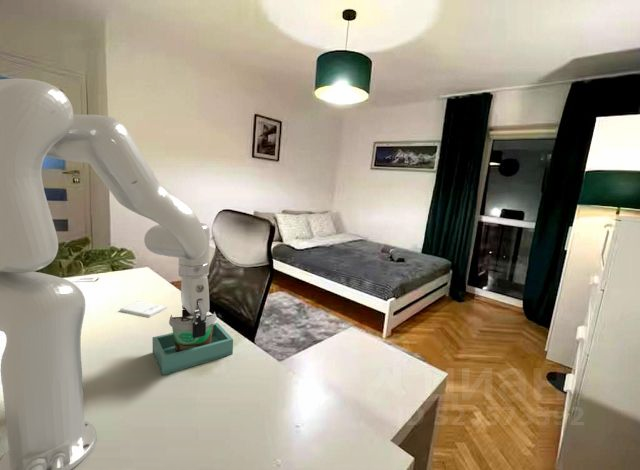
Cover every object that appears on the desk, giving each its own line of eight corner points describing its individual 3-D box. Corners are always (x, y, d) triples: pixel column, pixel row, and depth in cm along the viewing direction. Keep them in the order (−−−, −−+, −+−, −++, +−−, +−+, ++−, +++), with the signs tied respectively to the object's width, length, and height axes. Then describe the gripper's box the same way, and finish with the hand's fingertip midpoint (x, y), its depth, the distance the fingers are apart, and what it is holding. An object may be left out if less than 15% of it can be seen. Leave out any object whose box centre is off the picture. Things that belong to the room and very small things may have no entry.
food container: (165, 360, 78) (165, 324, 77) (169, 347, 84) (169, 314, 83) (215, 355, 82) (216, 321, 81) (215, 343, 88) (216, 311, 86)
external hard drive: (139, 304, 114) (167, 309, 111) (120, 312, 106) (149, 318, 103) (139, 300, 114) (167, 305, 111) (120, 308, 106) (149, 314, 103)
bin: (232, 354, 85) (233, 339, 85) (162, 375, 74) (162, 358, 73) (217, 336, 94) (217, 322, 94) (152, 352, 83) (152, 337, 82)
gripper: (219, 276, 76) (218, 339, 79) (198, 260, 89) (197, 314, 92) (188, 280, 71) (188, 346, 74) (170, 262, 85) (170, 319, 87)
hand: (193, 328), depth 83 cm, fingers open, 9 cm apart
